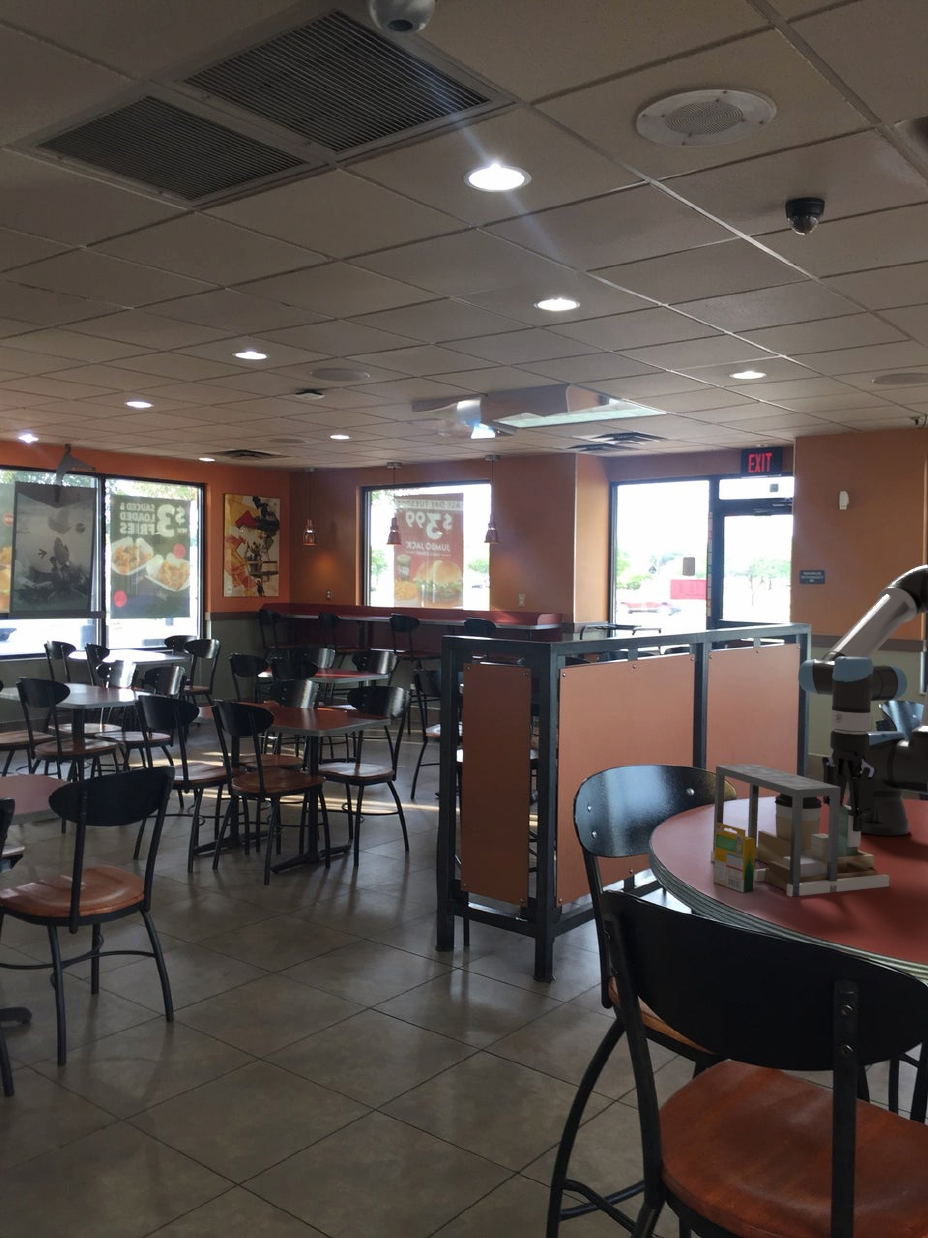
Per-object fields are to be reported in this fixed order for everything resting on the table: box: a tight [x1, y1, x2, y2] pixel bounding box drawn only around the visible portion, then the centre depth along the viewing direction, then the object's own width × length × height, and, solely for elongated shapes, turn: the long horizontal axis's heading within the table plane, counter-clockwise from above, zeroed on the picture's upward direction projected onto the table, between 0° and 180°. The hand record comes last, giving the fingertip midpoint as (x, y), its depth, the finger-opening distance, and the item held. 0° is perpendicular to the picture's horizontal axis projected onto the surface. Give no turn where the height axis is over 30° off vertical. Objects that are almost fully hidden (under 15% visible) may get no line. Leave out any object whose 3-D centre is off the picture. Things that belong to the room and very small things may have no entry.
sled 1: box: [754, 804, 875, 869], centre depth 201 cm, size 20×12×11 cm, turn 111°
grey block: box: [783, 855, 823, 877], centre depth 186 cm, size 5×5×5 cm
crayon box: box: [713, 822, 755, 894], centre depth 184 cm, size 7×3×12 cm, turn 33°
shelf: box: [712, 763, 841, 897], centre depth 192 cm, size 10×24×20 cm, turn 21°
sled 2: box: [765, 833, 879, 892], centre depth 187 cm, size 20×8×9 cm, turn 111°
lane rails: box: [710, 850, 890, 897], centre depth 194 cm, size 23×24×2 cm
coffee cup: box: [774, 793, 823, 857], centre depth 200 cm, size 9×9×15 cm
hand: (845, 843), depth 204 cm, fingers closed on sled 1, 4 cm apart
